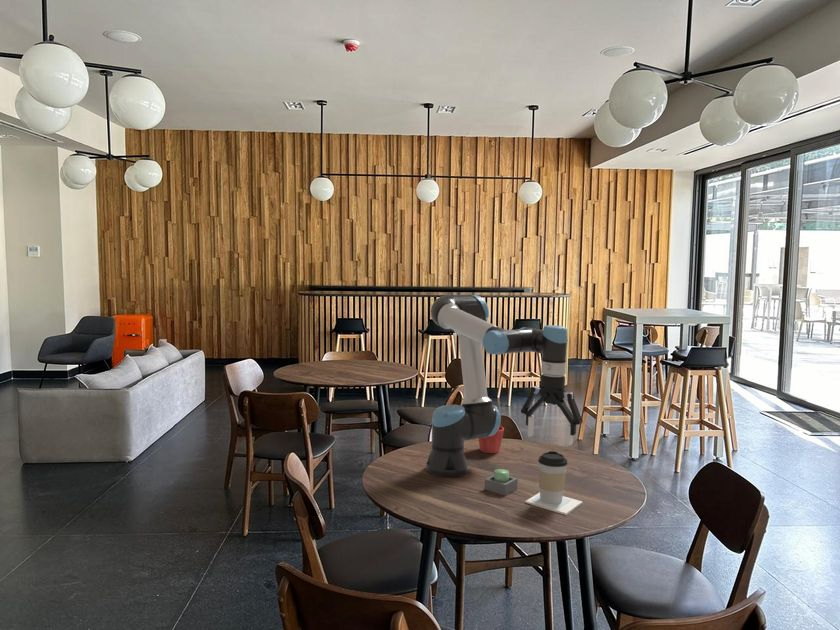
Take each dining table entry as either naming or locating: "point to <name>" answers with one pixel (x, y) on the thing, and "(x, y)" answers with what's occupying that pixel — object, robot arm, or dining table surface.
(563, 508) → the white flat piece
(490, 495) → the dining table surface
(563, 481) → the coffee cup
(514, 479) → the button box
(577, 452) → the dining table surface
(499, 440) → the flower pot
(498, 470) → the button
